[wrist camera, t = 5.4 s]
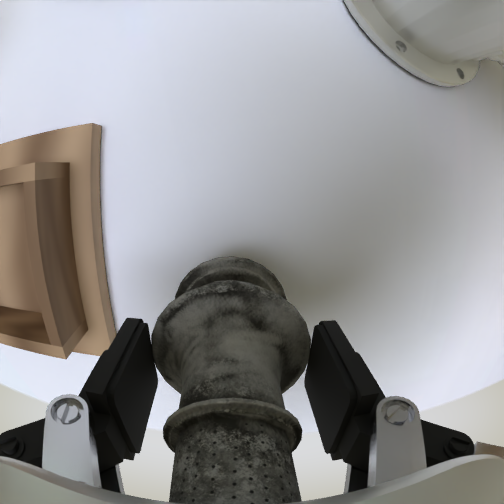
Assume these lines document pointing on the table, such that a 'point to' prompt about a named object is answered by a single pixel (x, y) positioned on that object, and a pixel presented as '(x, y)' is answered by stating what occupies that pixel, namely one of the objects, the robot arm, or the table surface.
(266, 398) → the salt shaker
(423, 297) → the table surface
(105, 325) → the condiment rack
